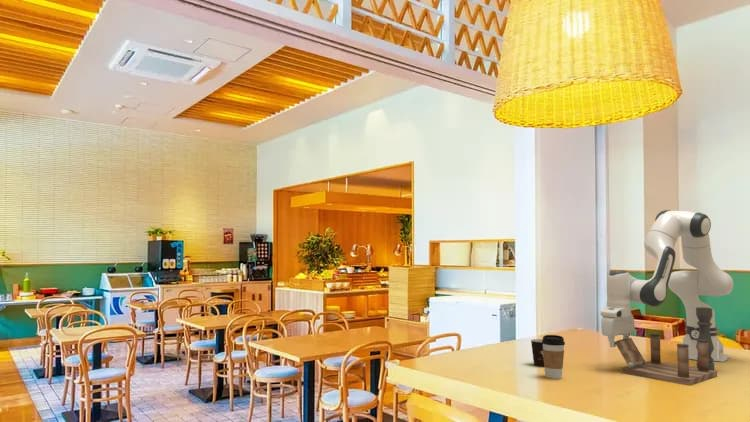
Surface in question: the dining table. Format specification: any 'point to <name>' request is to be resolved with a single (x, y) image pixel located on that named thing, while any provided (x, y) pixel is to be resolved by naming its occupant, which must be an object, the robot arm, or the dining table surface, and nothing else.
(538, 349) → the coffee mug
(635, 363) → the hinged leg
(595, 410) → the dining table surface
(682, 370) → the stool
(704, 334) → the candle holder
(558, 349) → the coffee cup
